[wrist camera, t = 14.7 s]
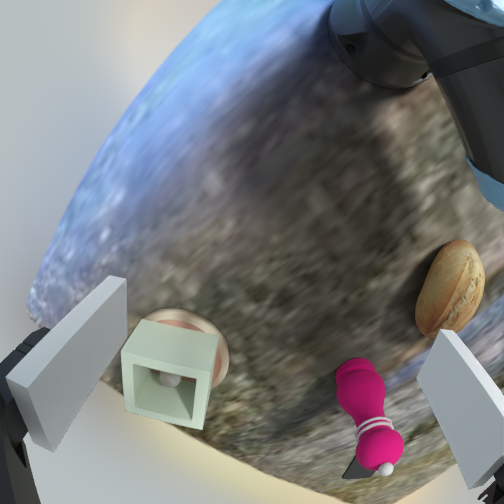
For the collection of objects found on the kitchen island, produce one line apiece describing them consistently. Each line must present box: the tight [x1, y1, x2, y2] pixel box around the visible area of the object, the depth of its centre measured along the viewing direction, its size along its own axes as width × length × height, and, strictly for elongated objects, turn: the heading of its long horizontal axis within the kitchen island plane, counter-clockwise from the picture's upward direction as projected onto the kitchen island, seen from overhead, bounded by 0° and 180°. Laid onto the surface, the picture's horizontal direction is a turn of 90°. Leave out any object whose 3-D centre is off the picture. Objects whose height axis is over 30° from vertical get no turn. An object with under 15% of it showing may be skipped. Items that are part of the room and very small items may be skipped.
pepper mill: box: [335, 358, 404, 476], centre depth 37 cm, size 7×7×20 cm
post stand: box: [134, 308, 230, 389], centre depth 42 cm, size 15×15×8 cm
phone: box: [343, 456, 375, 479], centre depth 54 cm, size 7×1×15 cm
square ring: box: [121, 319, 219, 430], centre depth 40 cm, size 11×11×8 cm
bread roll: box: [415, 240, 485, 339], centre depth 37 cm, size 10×15×8 cm, turn 167°
